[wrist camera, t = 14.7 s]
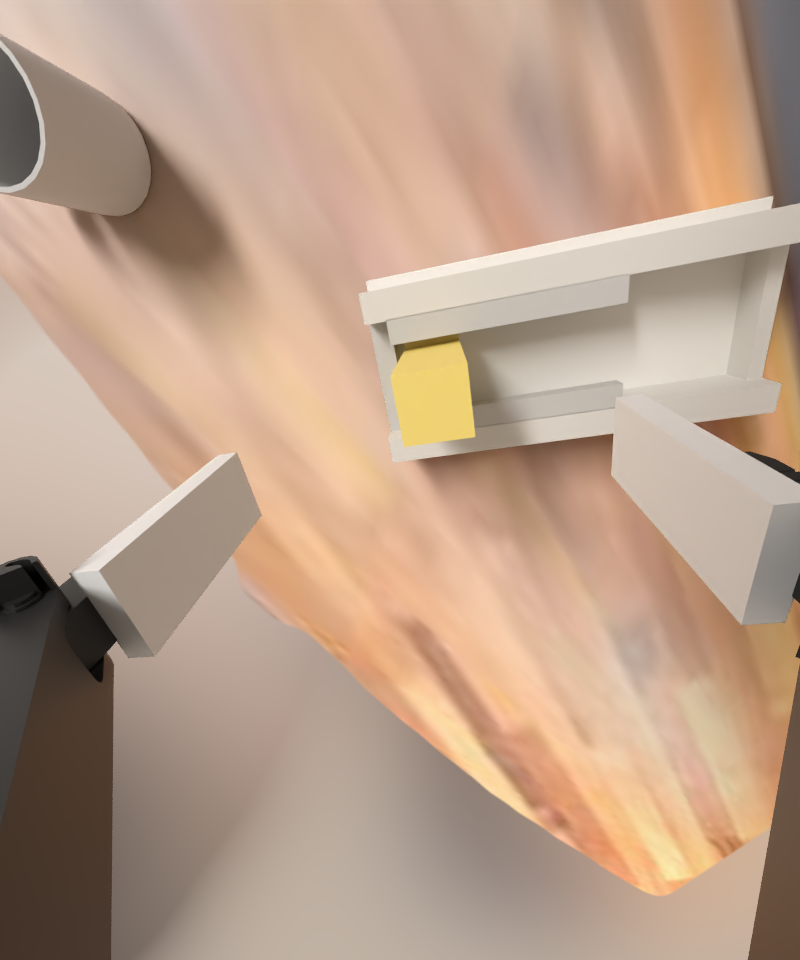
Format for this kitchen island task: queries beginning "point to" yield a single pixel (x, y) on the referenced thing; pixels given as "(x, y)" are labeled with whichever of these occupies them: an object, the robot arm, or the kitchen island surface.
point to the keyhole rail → (598, 325)
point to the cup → (66, 139)
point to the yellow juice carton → (433, 392)
